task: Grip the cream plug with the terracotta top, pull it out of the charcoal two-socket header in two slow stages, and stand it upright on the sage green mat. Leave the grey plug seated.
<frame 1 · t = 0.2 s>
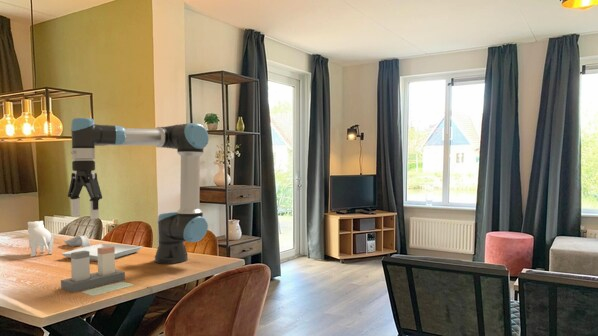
hand: (84, 217, 158), 27 cm above the table, tool pointing down, fingers open, 13 cm apart
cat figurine: (40, 254, 221), on the table
green mat: (108, 291, 157), on the table
square plate: (103, 256, 217), on the table
cream plug: (106, 280, 166), point 1 cm above the table, touching header
grey plug: (80, 287, 158), point 1 cm above the table, touching header
header: (94, 286, 162), on the table
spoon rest: (79, 247, 241), on the table
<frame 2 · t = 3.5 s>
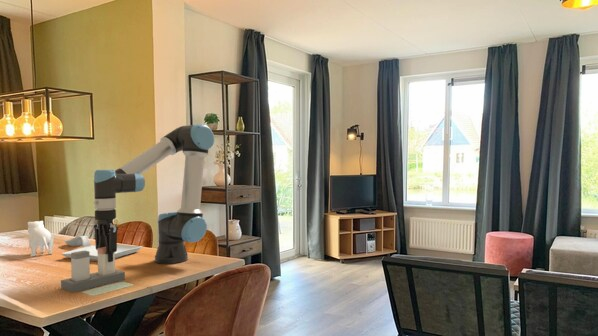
hand: (106, 269, 166), 6 cm above the table, tool pointing down, fingers closed on cream plug, 3 cm apart
cream plug: (106, 280, 166), point 1 cm above the table, touching gripper, header
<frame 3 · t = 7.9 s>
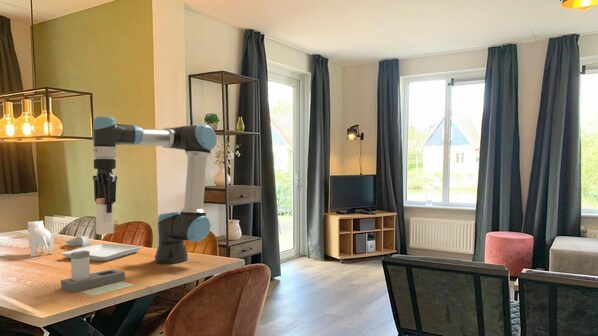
hand: (105, 221, 159), 25 cm above the table, tool pointing down, fingers closed on cream plug, 3 cm apart
cream plug: (104, 233, 159), point 21 cm above the table, touching gripper
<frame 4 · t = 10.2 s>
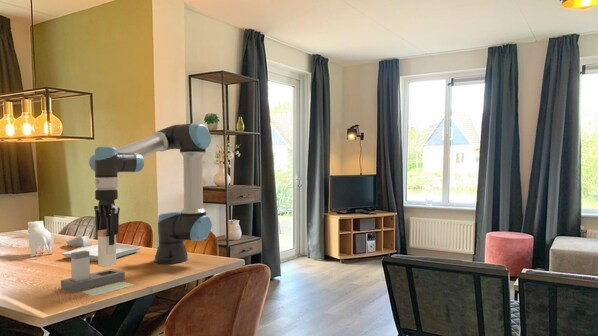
hand: (107, 252, 156), 14 cm above the table, tool pointing down, fingers closed on cream plug, 3 cm apart
cream plug: (107, 265, 156), point 9 cm above the table, touching gripper
when the fingers open (6 cm above the table, at t = 12.3 s): cream plug stays where it is, resting on green mat.
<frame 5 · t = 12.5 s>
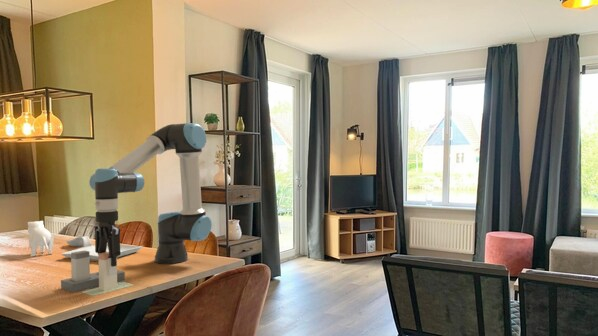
hand: (108, 273, 156), 6 cm above the table, tool pointing down, fingers open, 5 cm apart
cream plug: (108, 288, 156), point 1 cm above the table, touching green mat
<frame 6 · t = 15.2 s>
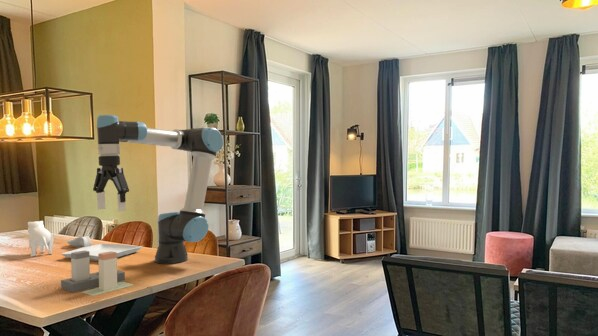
hand: (111, 210, 166), 29 cm above the table, tool pointing down, fingers open, 13 cm apart
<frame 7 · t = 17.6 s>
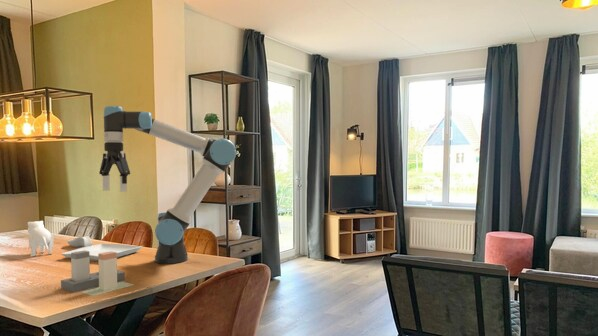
hand: (114, 191, 186), 35 cm above the table, tool pointing down, fingers open, 13 cm apart
at the end: cream plug inside the target area (0.0 cm from its centre), point 1.0 cm above the table; cream plug tilted 0°; grey plug moved 0.0 cm from its start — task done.
